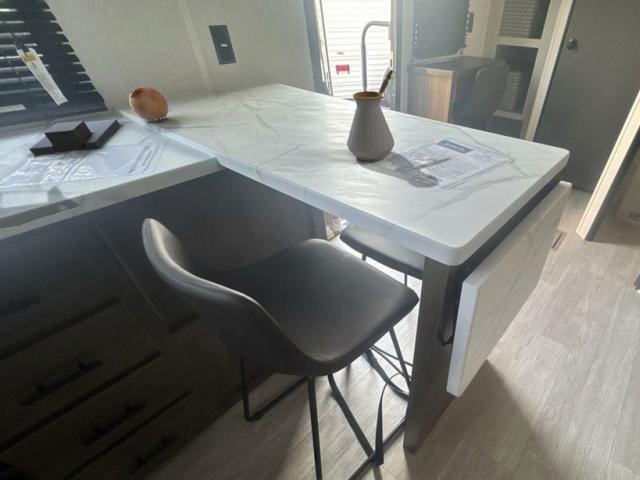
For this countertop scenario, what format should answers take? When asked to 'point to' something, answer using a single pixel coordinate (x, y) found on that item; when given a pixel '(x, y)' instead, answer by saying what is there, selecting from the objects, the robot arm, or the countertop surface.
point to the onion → (148, 103)
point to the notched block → (98, 137)
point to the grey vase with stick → (370, 126)
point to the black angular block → (68, 135)
